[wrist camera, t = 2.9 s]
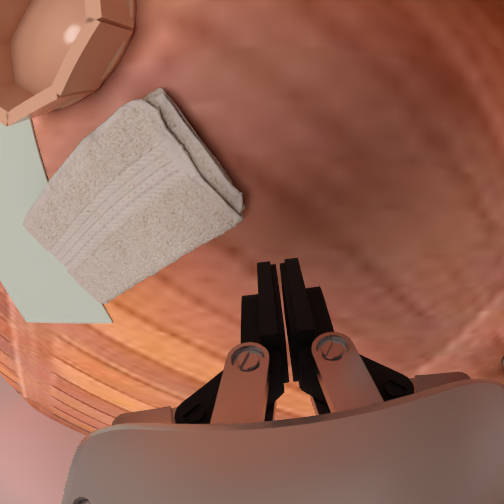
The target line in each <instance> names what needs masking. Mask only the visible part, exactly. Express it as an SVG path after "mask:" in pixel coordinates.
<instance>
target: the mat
mask: <svg viewBox="0 0 504 504" xmlns="http://www.w3.org/2000/svg"><path fill="white" fill-rule="evenodd" d="M48 182H49V181H48V178H47V174H46V171H45V168H44V165H43V162H42V158H41V155H40V151H39V148H38V144H37V140H36V137H35V133H34V129H33V124H32V120H31V119H28V120H25V121H22V122H19V123H17V124H14V125H11V126H5V125H3V124H2V123H1V122H0V281H1V282H2V284H3V286H4V288H5V289H6V291H7V293H8V294H9V296H10V298H11V299H12V301H13V302H14V304H15V305H16V307H17V308H18V310H19V312H20V313H21V315H22V316H23V317H24V319H25V320H26V322H38V323H113V321H112V319H111V317H110V316H109V314H108V312H107V310H106V309H105V307H104V305H103V303H99V302H97V300H96V299H95V298H93V297H92V296H91V295H90V294H88V293H87V291H85V290H84V289H83V287H82V286H80V285H79V284H78V283H77V282H76V281H75V279H74V278H73V277H72V276H71V275H70V274H69V273H68V269H67V268H66V266H65V265H63V264H62V263H60V261H58V260H57V259H56V258H55V256H54V255H52V254H51V253H50V252H49V251H47V250H46V249H45V248H43V246H42V245H40V243H38V241H37V240H36V239H35V238H34V237H33V236H32V235H31V234H30V233H29V232H28V231H27V230H26V229H25V226H23V221H24V218H25V215H26V214H27V212H28V211H29V209H30V208H31V206H32V205H33V203H34V202H35V201H36V200H37V198H38V197H39V195H40V194H41V193H42V191H43V189H44V187H45V186H46V185H47V183H48Z"/></svg>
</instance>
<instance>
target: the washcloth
mask: <svg viewBox="0 0 504 504" xmlns="http://www.w3.org/2000/svg"><path fill="white" fill-rule="evenodd" d="M244 209H245V205H244V204H243V198H242V192H239V191H238V190H237V189H236V188H235V187H234V186H233V184H232V181H231V180H230V178H229V177H228V175H227V174H226V172H225V170H224V169H223V168H222V166H221V165H220V163H219V162H218V160H217V159H216V157H215V156H214V155H213V154H212V153H211V151H210V150H209V149H208V148H207V147H206V146H205V144H204V143H203V142H202V140H201V139H200V138H199V136H198V135H197V133H196V132H195V130H194V129H193V128H192V126H191V125H190V124H189V122H188V121H187V119H186V118H185V117H184V115H183V114H182V112H181V111H180V109H179V108H178V107H177V105H176V104H175V103H174V102H173V100H172V99H171V98H170V97H169V96H168V95H167V94H166V92H165V90H164V89H163V88H161V87H160V88H157V89H156V90H155V91H154V92H151V93H149V94H148V95H147V96H146V97H145V98H143V99H142V100H141V99H137V100H133V101H130V102H128V103H126V104H124V105H123V106H122V107H120V108H119V109H118V110H117V111H116V112H115V113H114V114H113V115H112V116H111V117H109V118H108V119H107V120H106V121H105V122H104V123H102V124H101V125H100V126H99V127H98V128H97V129H95V130H94V131H93V132H92V133H91V134H89V135H88V136H86V137H85V138H84V139H83V140H82V141H81V142H80V143H79V145H78V146H77V147H76V148H75V150H74V151H73V152H72V153H71V154H70V156H69V157H68V158H67V160H66V161H65V162H64V163H63V165H62V166H61V167H60V168H59V169H58V171H57V172H56V173H55V174H54V175H53V177H52V178H51V179H50V180H49V182H48V183H47V185H46V186H45V187H44V189H43V191H42V193H41V194H40V195H39V197H38V198H37V200H36V201H35V202H34V203H33V205H32V206H31V208H30V209H29V211H28V212H27V214H26V215H25V218H24V221H23V226H25V229H26V230H27V231H28V232H29V233H30V234H31V235H32V236H33V237H34V238H35V239H36V240H37V241H38V243H40V245H42V246H43V248H45V249H46V250H47V251H49V252H50V253H51V254H52V255H54V256H55V258H56V259H57V260H58V261H60V263H62V264H63V265H65V266H66V268H67V269H68V273H69V274H70V275H71V276H72V277H73V278H74V279H75V281H76V282H77V283H78V284H79V285H80V286H82V287H83V289H84V290H85V291H87V293H88V294H90V295H91V296H92V297H93V298H95V299H96V300H97V302H99V303H103V304H105V303H106V304H107V303H109V300H113V299H115V298H116V297H117V296H118V295H120V294H122V293H124V292H125V291H127V289H131V288H132V287H133V286H134V285H136V284H137V283H139V282H142V281H143V280H144V279H145V278H147V277H149V276H151V275H156V273H157V272H158V271H159V270H161V269H162V268H164V267H165V266H168V265H169V264H170V263H174V262H175V261H177V259H179V258H180V257H182V256H183V255H184V254H187V253H189V252H192V251H193V250H194V249H196V248H197V247H199V246H200V245H202V244H204V243H207V242H208V241H210V240H212V239H213V238H214V237H215V238H217V237H218V236H219V235H222V234H224V233H225V231H227V230H229V229H231V228H233V227H236V225H237V224H238V223H240V222H241V221H242V220H243V219H244V216H243V214H242V211H243V210H244Z"/></svg>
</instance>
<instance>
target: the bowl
mask: <svg viewBox="0 0 504 504" xmlns="http://www.w3.org/2000/svg"><path fill="white" fill-rule="evenodd" d="M135 19H136V0H0V122H1V123H2V124H3V125H5V126H11V125H14V124H17V123H19V122H22V121H25V120H28V119H31V118H34V117H37V116H40V115H43V114H46V113H49V112H51V111H53V110H55V109H60V108H63V107H67V106H69V105H72V104H75V103H77V102H79V101H81V100H83V99H84V98H85V97H87V96H88V95H90V94H91V93H93V92H96V91H95V90H96V89H99V87H100V85H101V84H102V83H103V82H104V81H105V80H106V79H107V78H108V77H109V76H110V74H111V73H112V72H113V71H114V69H115V68H116V66H117V65H118V63H119V62H120V60H121V58H122V56H123V55H124V53H125V51H126V49H127V46H128V44H129V42H130V39H131V36H132V33H133V29H134V24H135Z"/></svg>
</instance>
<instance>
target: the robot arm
mask: <svg viewBox="0 0 504 504" xmlns="http://www.w3.org/2000/svg"><path fill="white" fill-rule="evenodd" d="M284 261H285V263H280V271H281V282H282V292H283V302H284V313H285V321H286V328H287V336H288V343H289V351H290V358H291V366H292V374H293V381H294V382H296V381H299V386H300V388H301V390H302V391H304V392H306V393H307V394H309V395H310V398H311V402H312V405H313V407H314V410H315V413H316V416H309V417H302V418H294V419H286V420H276V421H275V414H276V400H277V399H278V398H279V397H280V396H281V395H282V394H283V393H284V383H287V382H289V374H288V362H287V351H286V339H285V330H284V322H283V314H282V307H281V299H280V292H279V285H278V277H277V270H276V264H272V265H270V261H268V262H260V263H257V274H258V294H256V295H247V296H242V305H241V344H239V345H237V346H235V347H234V348H232V350H231V351H230V352H229V353H228V355H227V358H226V362H225V366H224V370H223V371H222V372H220V373H219V374H218V375H217V376H215V377H214V378H213V379H212V380H210V381H209V382H208V383H207V384H205V385H204V386H203V387H202V388H200V389H199V390H198V391H196V392H195V393H194V394H193V395H191V396H190V397H189V398H187V399H186V400H185V401H183V402H182V403H181V404H180V405H179V406H178V407H177V408H171V407H170V406H169V407H163V408H157V409H151V410H144V411H137V412H130V413H124V414H121V415H119V416H118V417H116V418H115V420H114V421H113V423H112V426H107V427H104V428H101V429H98V430H95V431H93V432H91V433H90V434H88V435H87V436H86V437H85V438H84V439H83V440H82V441H81V443H80V444H79V446H78V448H77V450H76V452H75V455H74V457H73V460H72V463H71V466H70V469H69V473H68V477H67V481H66V485H65V489H64V494H63V500H62V504H504V385H503V384H501V383H499V382H497V381H493V380H488V379H471V378H470V377H469V376H468V375H467V374H465V373H463V372H450V373H440V374H429V375H415V377H414V378H408V377H406V376H405V375H403V374H401V373H398V372H396V371H394V370H392V369H390V368H388V367H385V366H383V365H381V364H379V363H377V362H375V361H373V360H370V359H368V358H366V357H364V356H362V355H360V354H359V353H358V351H357V349H356V348H355V346H354V344H353V342H352V341H351V339H350V338H349V337H348V336H346V335H344V334H342V333H339V332H334V330H333V326H332V323H331V319H330V316H329V313H328V309H327V306H326V303H325V300H324V296H323V293H322V290H321V288H320V286H319V287H312V288H305V284H304V281H303V277H302V273H301V269H300V265H299V261H298V258H292V259H285V260H284Z"/></svg>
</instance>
